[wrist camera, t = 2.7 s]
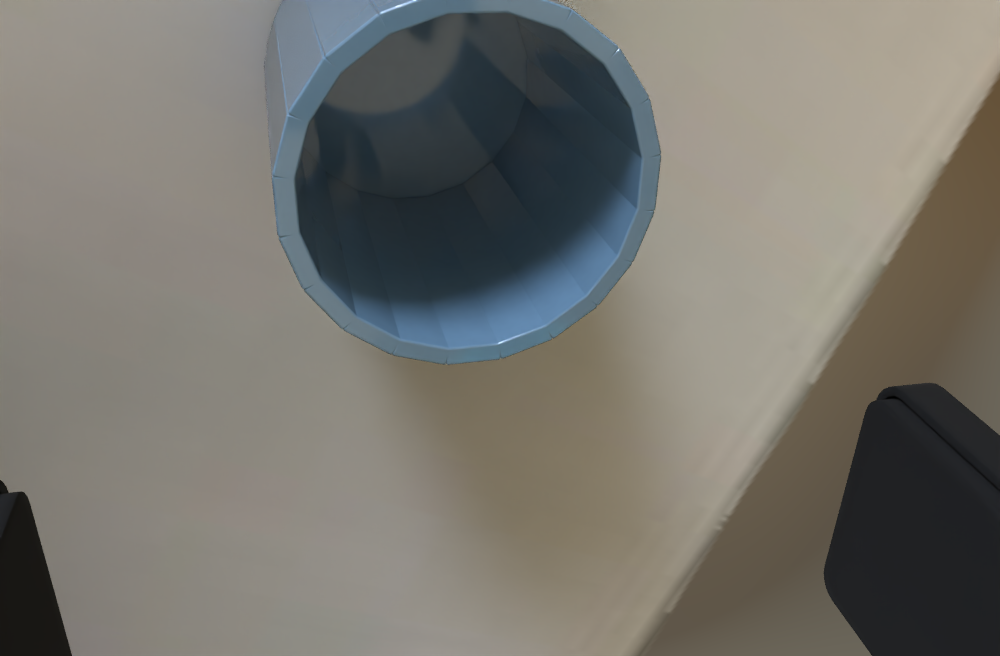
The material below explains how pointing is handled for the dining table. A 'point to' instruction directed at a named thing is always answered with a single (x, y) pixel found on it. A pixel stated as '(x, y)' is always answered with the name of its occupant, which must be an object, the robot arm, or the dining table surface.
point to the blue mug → (456, 169)
